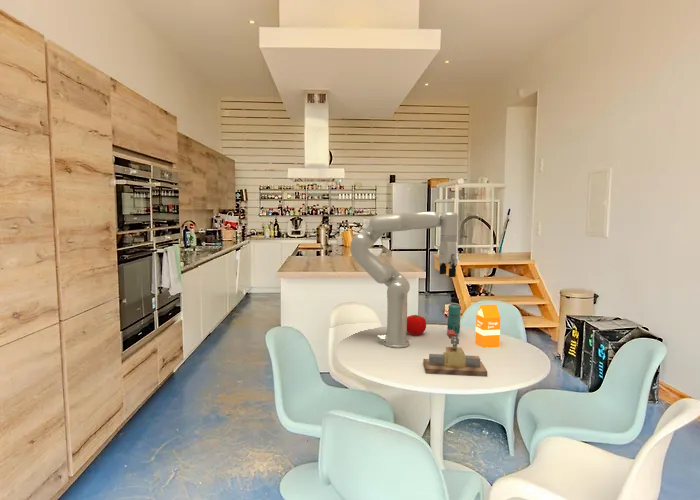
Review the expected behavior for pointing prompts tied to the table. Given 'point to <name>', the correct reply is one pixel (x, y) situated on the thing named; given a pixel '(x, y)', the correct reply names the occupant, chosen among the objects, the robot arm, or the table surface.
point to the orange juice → (487, 326)
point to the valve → (454, 358)
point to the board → (454, 370)
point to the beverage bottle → (454, 316)
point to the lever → (452, 337)
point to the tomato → (416, 324)
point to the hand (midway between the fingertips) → (447, 275)
